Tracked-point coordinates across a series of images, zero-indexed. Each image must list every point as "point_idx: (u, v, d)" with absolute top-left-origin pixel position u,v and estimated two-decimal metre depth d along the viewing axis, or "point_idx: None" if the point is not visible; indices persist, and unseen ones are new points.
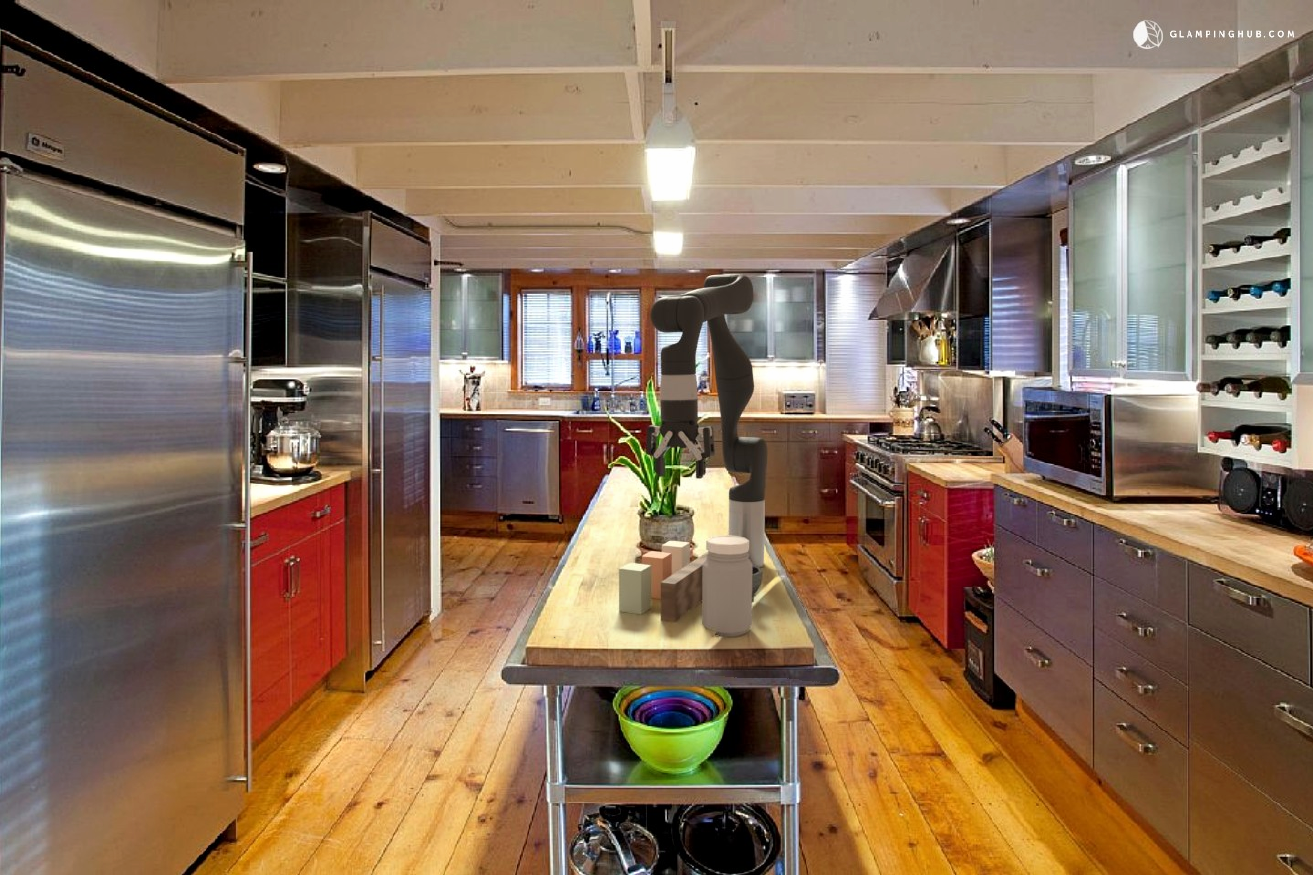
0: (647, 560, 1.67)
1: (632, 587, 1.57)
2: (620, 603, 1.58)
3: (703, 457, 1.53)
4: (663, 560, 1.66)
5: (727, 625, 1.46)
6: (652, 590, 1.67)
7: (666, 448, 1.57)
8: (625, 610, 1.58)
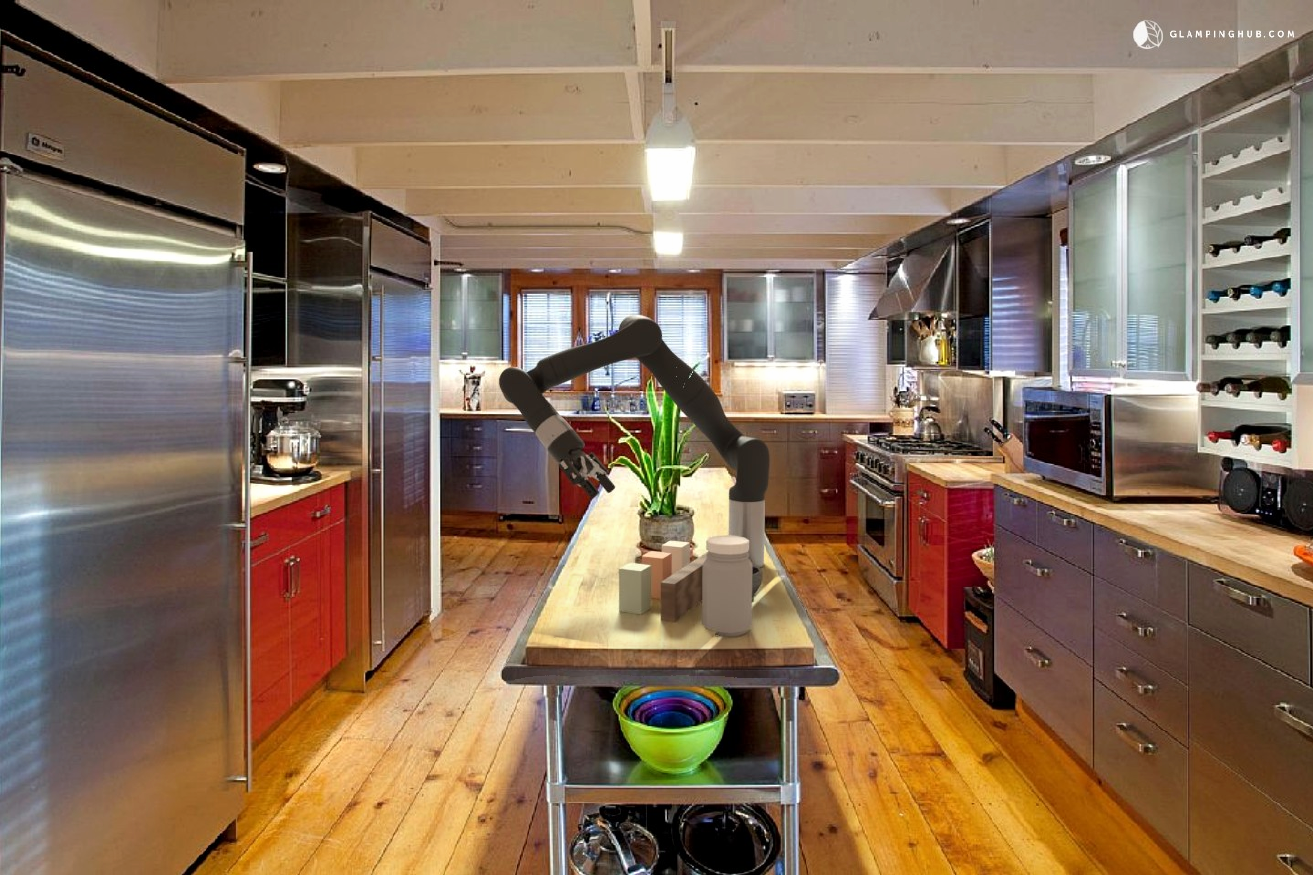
0: (647, 560, 1.67)
1: (632, 587, 1.57)
2: (620, 603, 1.58)
3: None
4: (663, 560, 1.66)
5: (727, 625, 1.46)
6: (652, 590, 1.67)
7: (593, 472, 1.76)
8: (625, 610, 1.58)
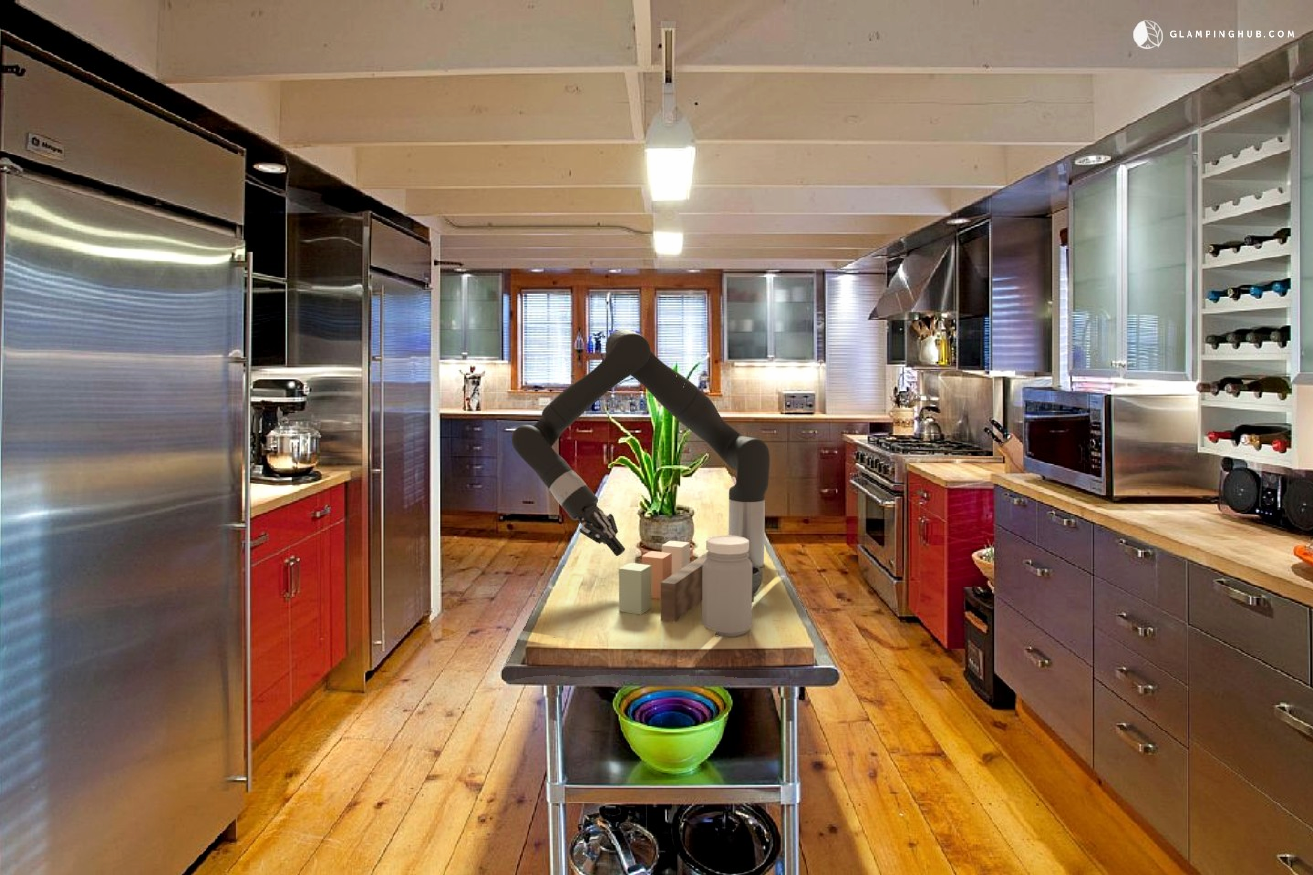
0: (647, 560, 1.67)
1: (632, 587, 1.57)
2: (620, 603, 1.58)
3: None
4: (663, 560, 1.66)
5: (727, 625, 1.46)
6: (652, 590, 1.67)
7: None
8: (625, 610, 1.58)
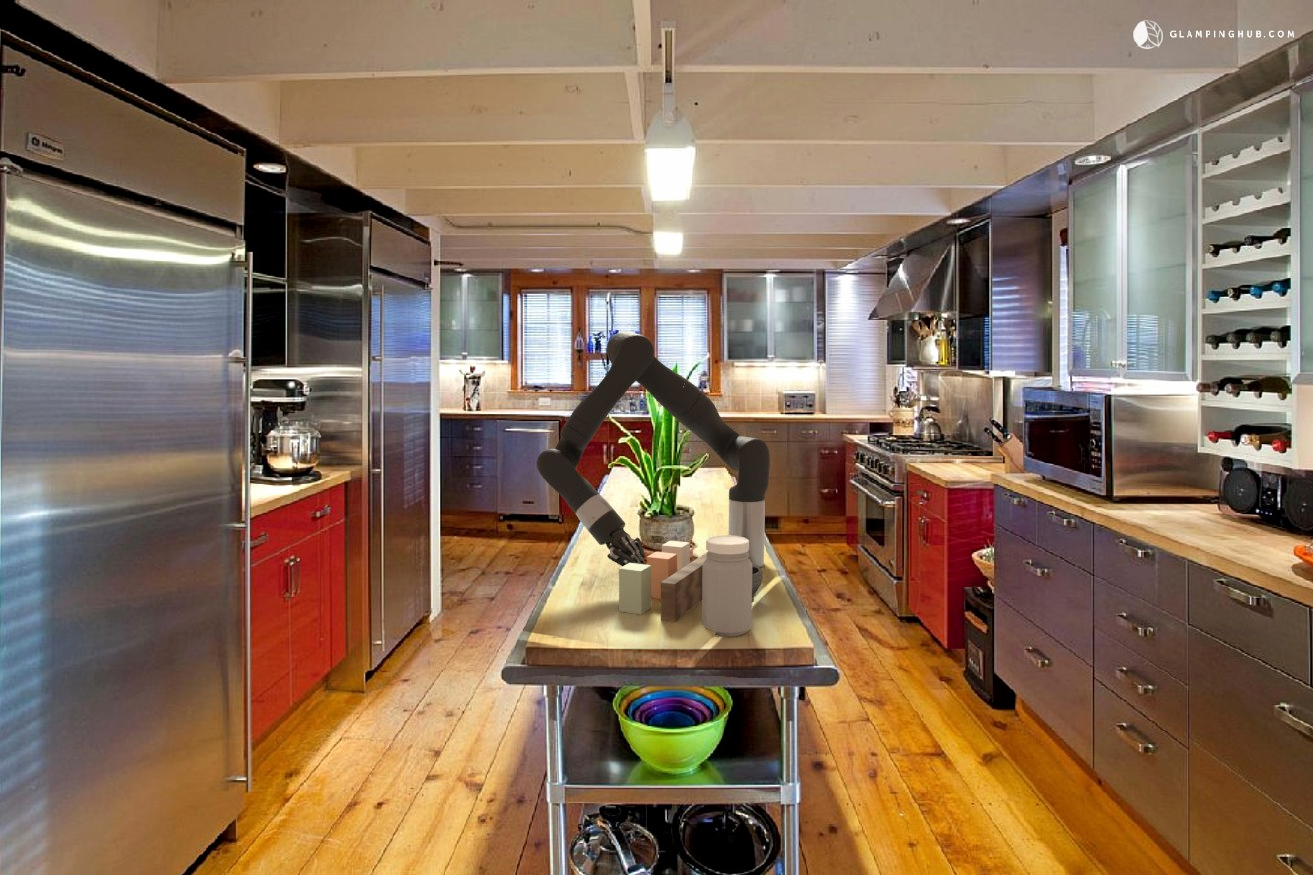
0: (652, 561, 1.67)
1: (632, 587, 1.57)
2: (620, 603, 1.58)
3: None
4: (668, 561, 1.65)
5: (727, 625, 1.46)
6: (658, 591, 1.67)
7: None
8: (625, 610, 1.58)
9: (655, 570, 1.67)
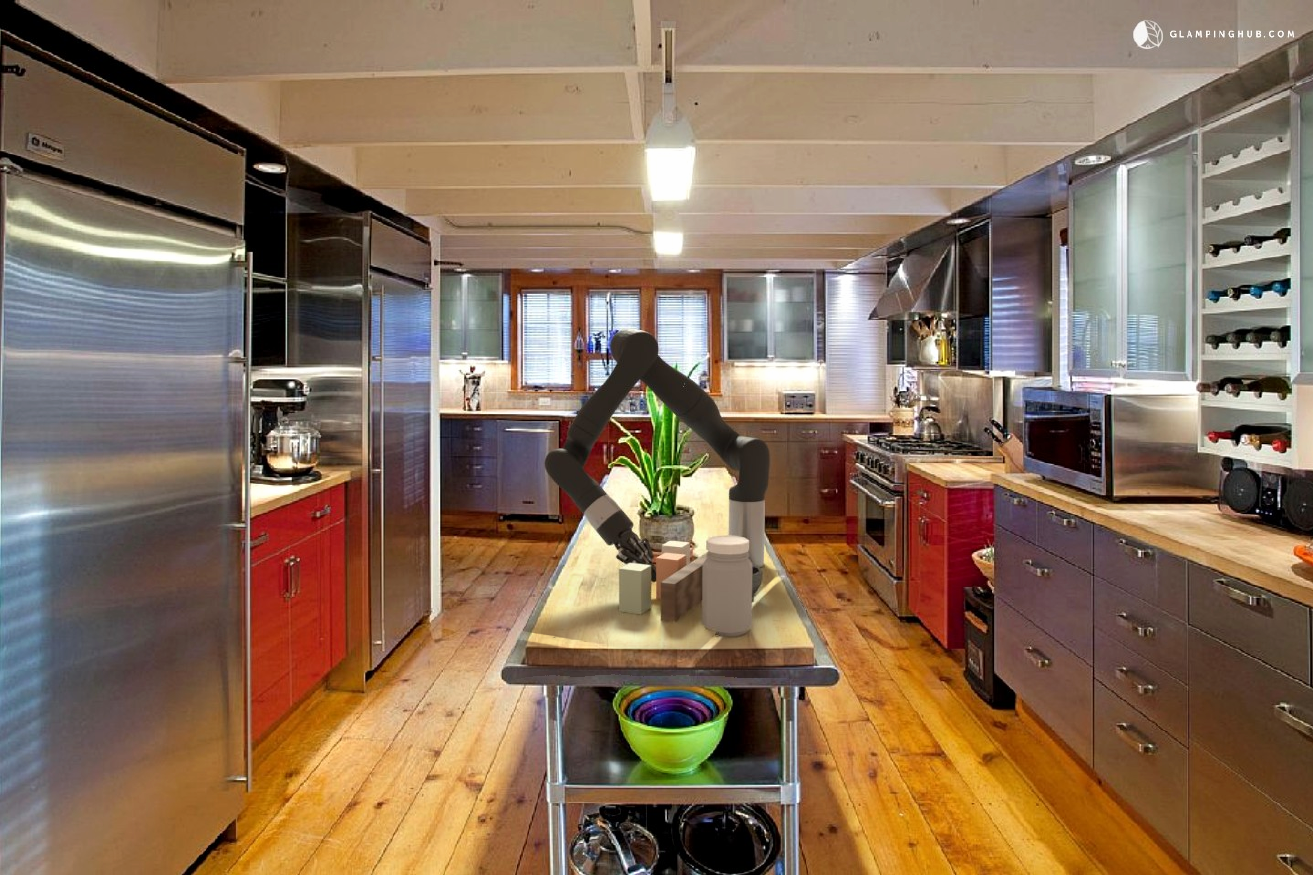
0: (662, 562, 1.66)
1: (632, 587, 1.57)
2: (620, 603, 1.58)
3: None
4: (678, 562, 1.64)
5: (727, 625, 1.46)
6: None
7: None
8: (625, 610, 1.58)
9: (664, 571, 1.66)
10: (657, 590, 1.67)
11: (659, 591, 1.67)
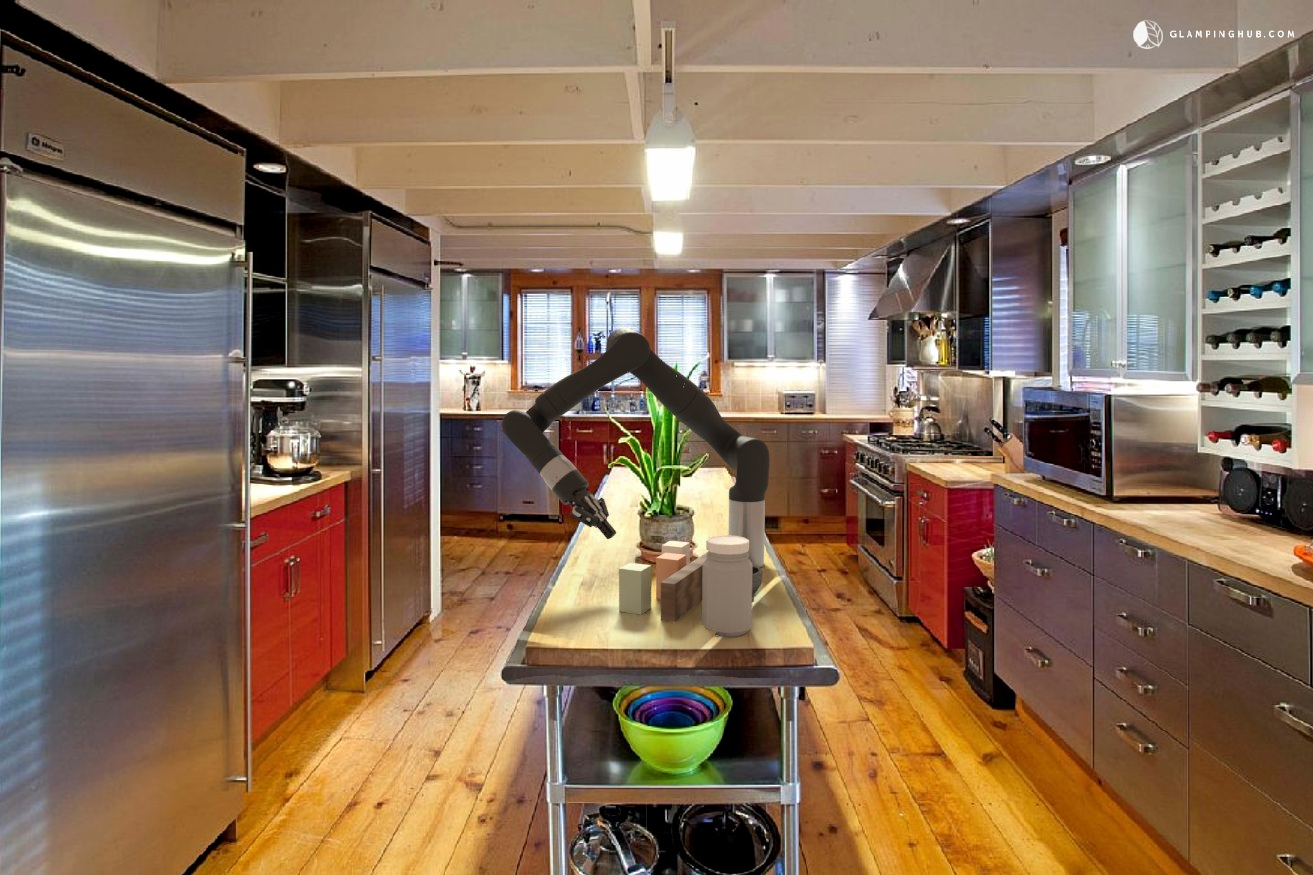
0: (662, 562, 1.66)
1: (632, 587, 1.57)
2: (620, 603, 1.58)
3: None
4: (678, 562, 1.64)
5: (727, 625, 1.46)
6: None
7: None
8: (625, 610, 1.58)
9: (664, 571, 1.66)
10: (657, 590, 1.67)
11: (659, 591, 1.67)
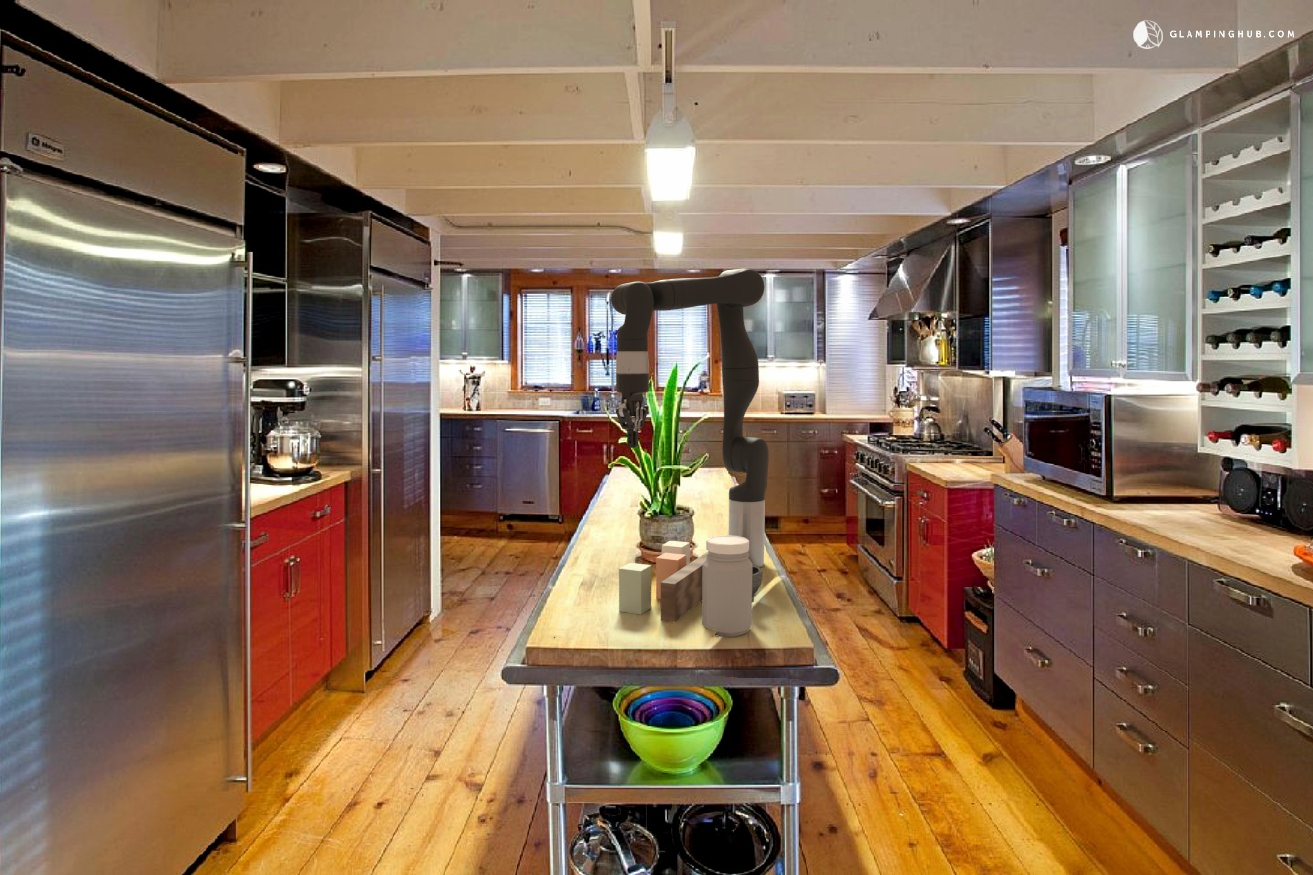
0: (662, 562, 1.66)
1: (632, 587, 1.57)
2: (620, 603, 1.58)
3: None
4: (678, 562, 1.64)
5: (727, 625, 1.46)
6: None
7: None
8: (625, 610, 1.58)
9: (664, 571, 1.66)
10: (657, 590, 1.67)
11: (659, 591, 1.67)
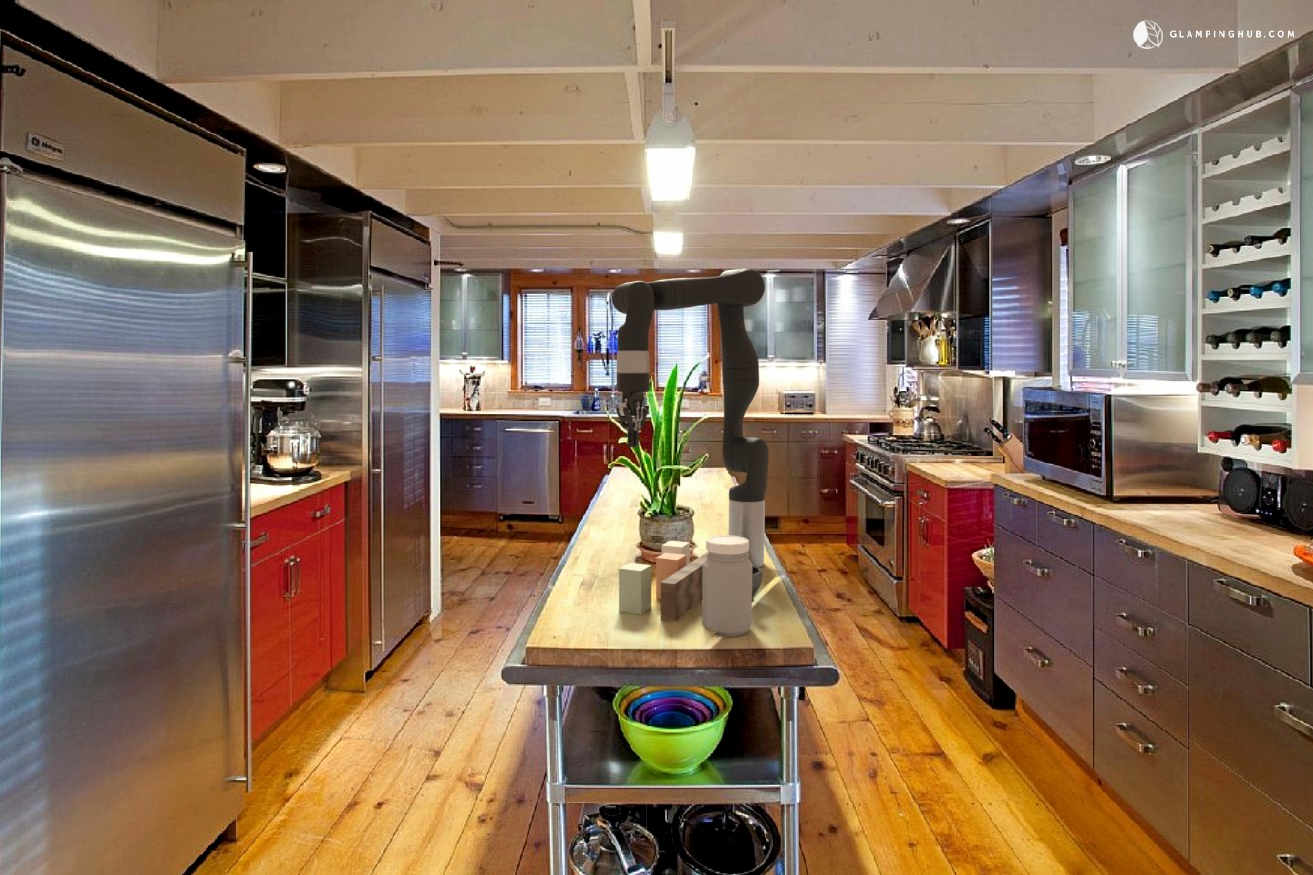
0: (662, 562, 1.66)
1: (632, 587, 1.57)
2: (620, 603, 1.58)
3: None
4: (678, 562, 1.64)
5: (727, 625, 1.46)
6: None
7: None
8: (625, 610, 1.58)
9: (664, 571, 1.66)
10: (657, 590, 1.67)
11: (659, 591, 1.67)
